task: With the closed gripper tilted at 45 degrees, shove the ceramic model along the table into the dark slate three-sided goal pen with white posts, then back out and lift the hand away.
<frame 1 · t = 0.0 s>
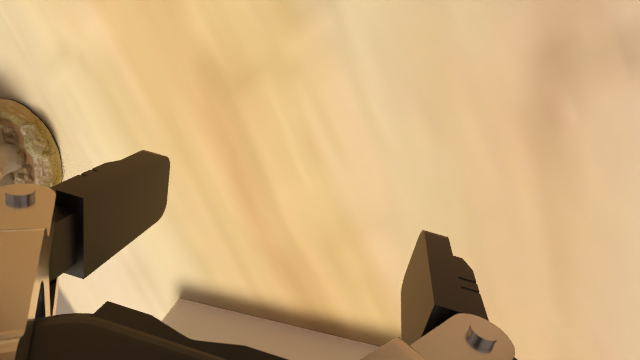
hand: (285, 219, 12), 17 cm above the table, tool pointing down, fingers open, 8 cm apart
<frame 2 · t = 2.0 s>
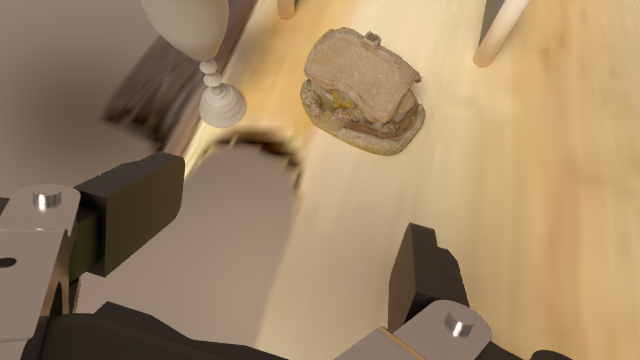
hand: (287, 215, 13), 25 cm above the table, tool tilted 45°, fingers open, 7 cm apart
chalice: (223, 108, 43), on the table
ceramic model: (360, 104, 44), on the table
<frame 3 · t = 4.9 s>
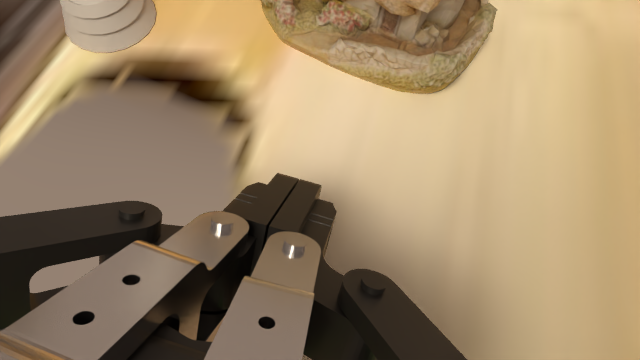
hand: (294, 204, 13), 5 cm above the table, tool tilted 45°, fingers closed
chalice: (112, 20, 23), on the table
ceramic model: (368, 8, 24), on the table
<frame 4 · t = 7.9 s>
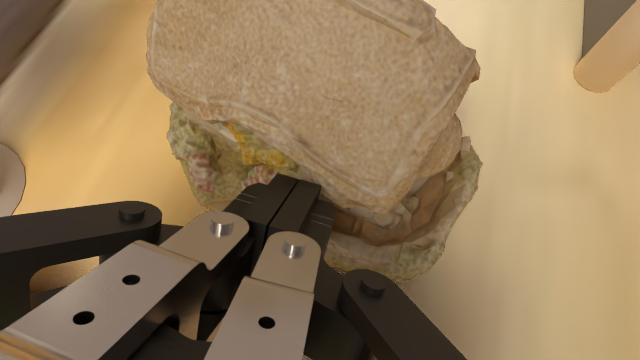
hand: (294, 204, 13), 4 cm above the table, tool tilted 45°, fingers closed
ceramic model: (317, 142, 19), on the table, touching gripper
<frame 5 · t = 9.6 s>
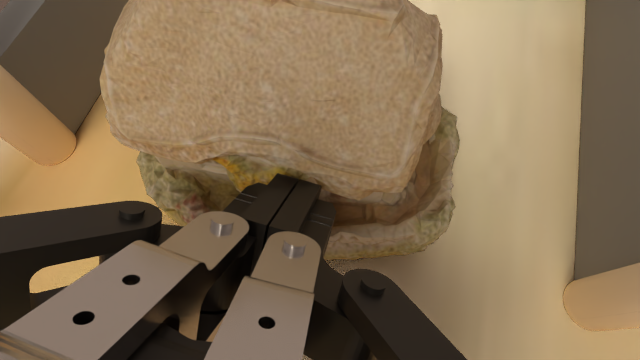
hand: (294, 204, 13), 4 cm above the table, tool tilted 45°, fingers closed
goal pen: (358, 56, 21), on the table
ceramic model: (293, 147, 19), on the table, touching gripper
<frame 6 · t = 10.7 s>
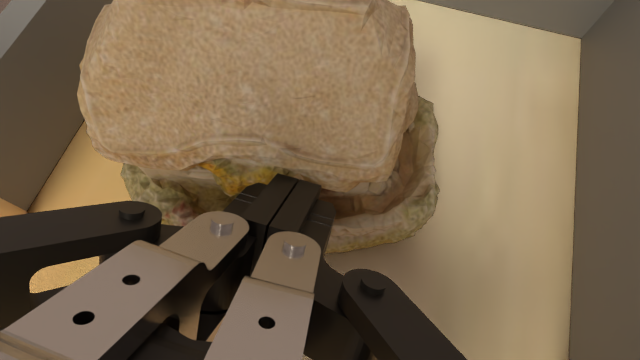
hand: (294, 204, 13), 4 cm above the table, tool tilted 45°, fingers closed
goal pen: (336, 117, 19), on the table
ceramic model: (276, 147, 19), on the table
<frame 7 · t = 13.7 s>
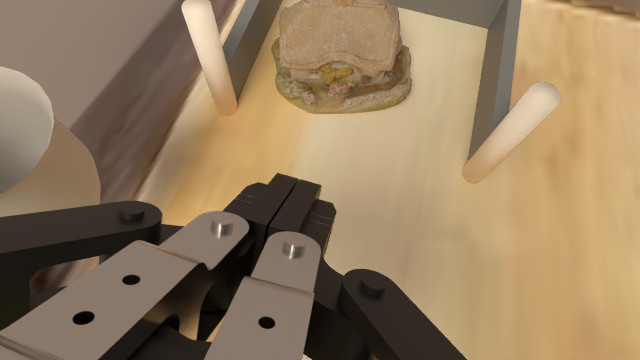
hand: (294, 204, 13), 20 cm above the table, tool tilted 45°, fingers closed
goal pen: (369, 64, 41), on the table
chalice: (134, 245, 33), on the table
ceramic model: (338, 72, 41), on the table
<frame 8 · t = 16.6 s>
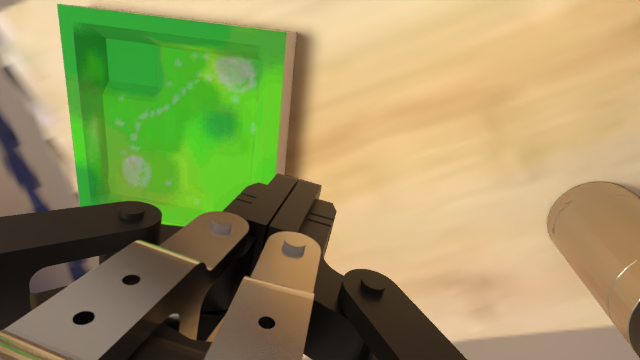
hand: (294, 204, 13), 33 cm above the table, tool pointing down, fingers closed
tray: (191, 126, 50), on the table
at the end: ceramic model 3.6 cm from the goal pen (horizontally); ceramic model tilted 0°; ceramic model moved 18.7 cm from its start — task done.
